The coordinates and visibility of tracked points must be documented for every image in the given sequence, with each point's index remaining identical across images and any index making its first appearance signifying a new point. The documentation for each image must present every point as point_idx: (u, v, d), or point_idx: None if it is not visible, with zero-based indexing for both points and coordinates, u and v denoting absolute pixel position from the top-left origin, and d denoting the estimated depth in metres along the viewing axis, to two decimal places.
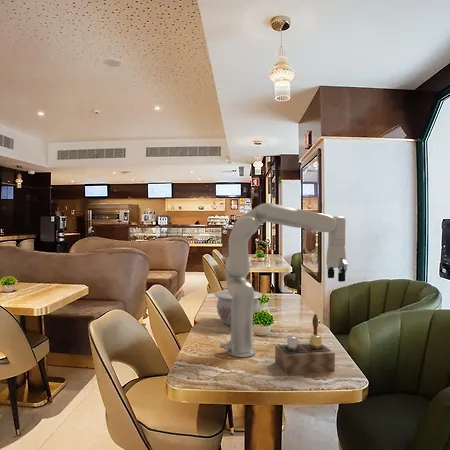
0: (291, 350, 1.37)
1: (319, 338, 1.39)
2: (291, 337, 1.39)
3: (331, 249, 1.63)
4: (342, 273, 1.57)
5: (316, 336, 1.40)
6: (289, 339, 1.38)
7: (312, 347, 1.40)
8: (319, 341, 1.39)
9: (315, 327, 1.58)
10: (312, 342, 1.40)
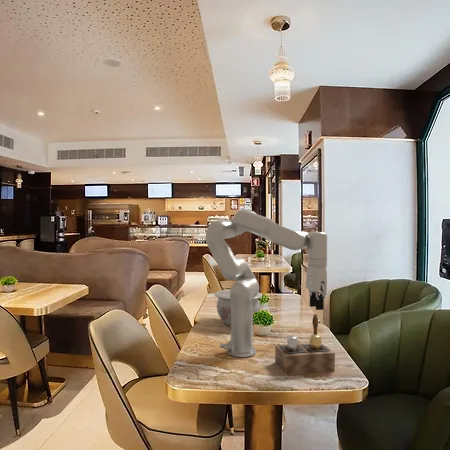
0: (291, 350, 1.37)
1: (319, 338, 1.39)
2: (291, 337, 1.39)
3: (310, 270, 1.40)
4: (320, 300, 1.37)
5: (316, 336, 1.40)
6: (289, 339, 1.38)
7: (312, 347, 1.40)
8: (319, 341, 1.39)
9: (315, 327, 1.58)
10: (312, 342, 1.40)
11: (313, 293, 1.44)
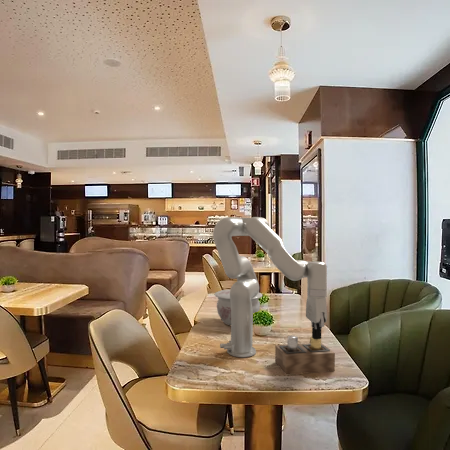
0: (291, 350, 1.37)
1: (319, 340, 1.39)
2: (291, 337, 1.39)
3: (310, 300, 1.40)
4: (317, 330, 1.39)
5: None
6: (289, 339, 1.38)
7: None
8: (319, 343, 1.39)
9: None
10: (312, 344, 1.40)
11: None
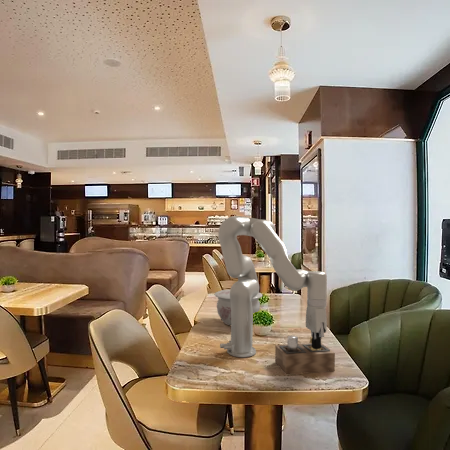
0: (291, 350, 1.37)
1: None
2: (291, 337, 1.39)
3: (310, 310, 1.41)
4: (317, 340, 1.40)
5: None
6: (289, 339, 1.38)
7: None
8: None
9: None
10: None
11: None
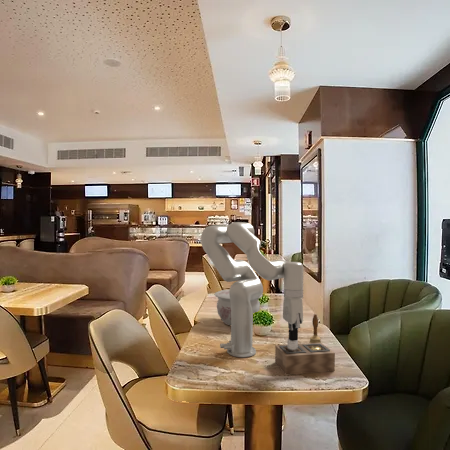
0: None
1: None
2: None
3: (286, 301, 1.39)
4: (294, 331, 1.37)
5: (316, 348, 1.40)
6: (289, 342, 1.38)
7: None
8: None
9: (315, 327, 1.58)
10: None
11: None
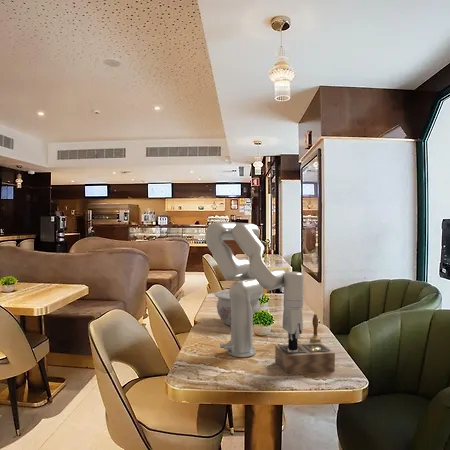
0: None
1: None
2: None
3: (286, 311, 1.39)
4: (293, 341, 1.38)
5: (316, 348, 1.40)
6: (289, 351, 1.38)
7: None
8: None
9: (315, 327, 1.58)
10: None
11: None
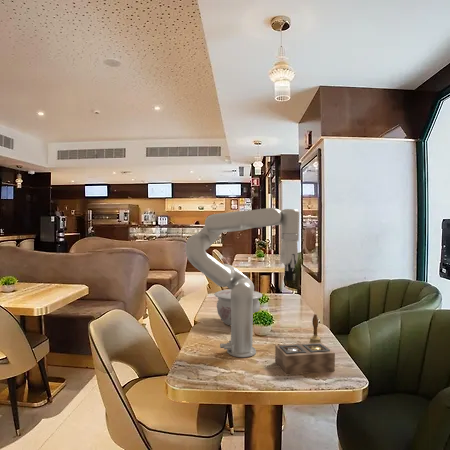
0: None
1: None
2: (291, 349, 1.39)
3: (283, 244, 1.51)
4: (289, 272, 1.50)
5: (316, 348, 1.40)
6: None
7: None
8: None
9: (315, 327, 1.58)
10: None
11: None
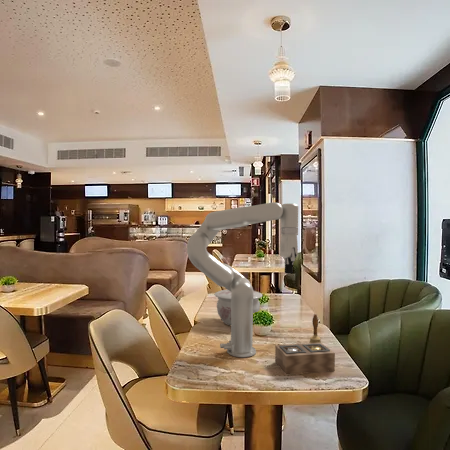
0: None
1: None
2: (291, 349, 1.39)
3: (283, 238, 1.54)
4: (289, 265, 1.53)
5: (316, 348, 1.40)
6: None
7: None
8: None
9: (315, 327, 1.58)
10: None
11: None
